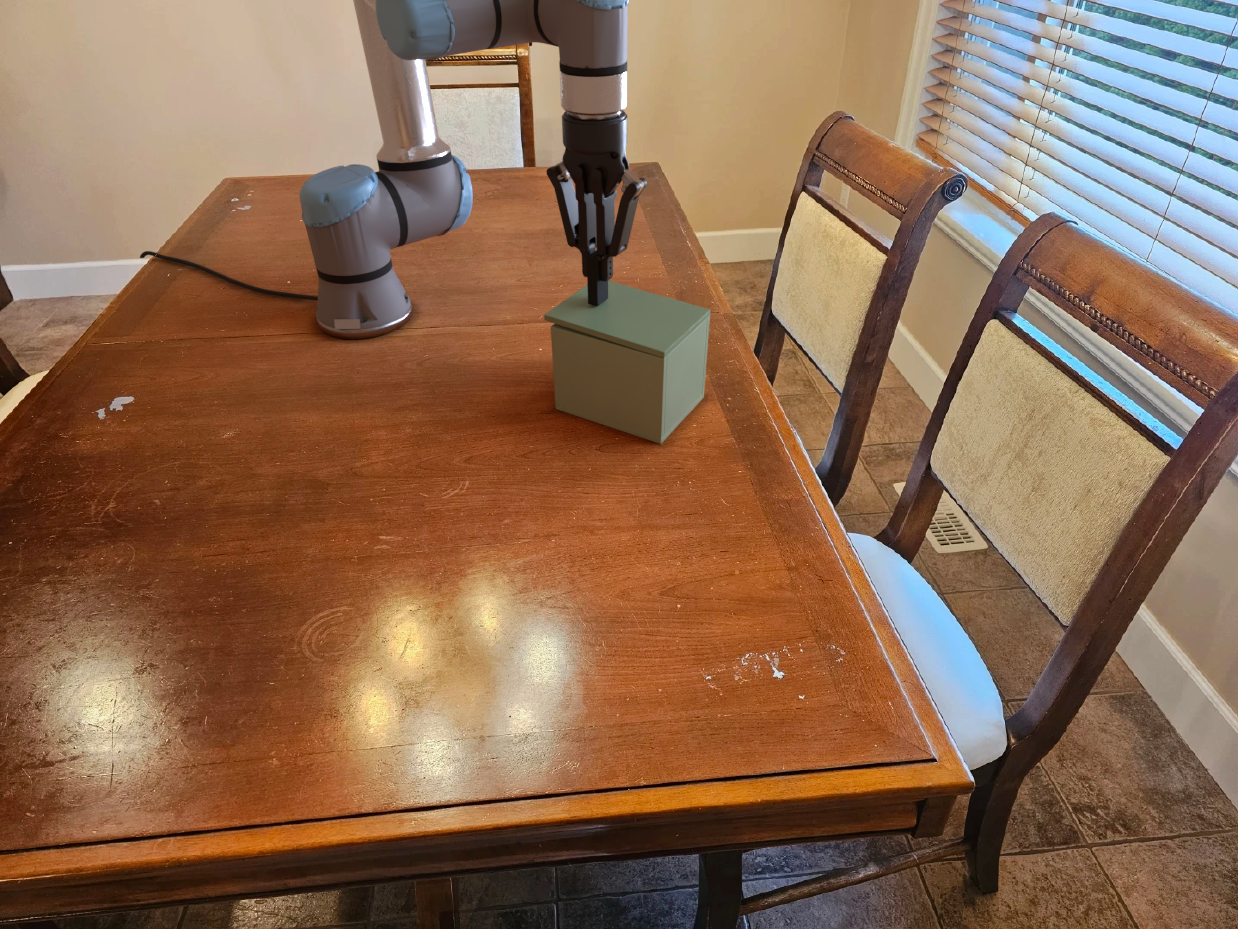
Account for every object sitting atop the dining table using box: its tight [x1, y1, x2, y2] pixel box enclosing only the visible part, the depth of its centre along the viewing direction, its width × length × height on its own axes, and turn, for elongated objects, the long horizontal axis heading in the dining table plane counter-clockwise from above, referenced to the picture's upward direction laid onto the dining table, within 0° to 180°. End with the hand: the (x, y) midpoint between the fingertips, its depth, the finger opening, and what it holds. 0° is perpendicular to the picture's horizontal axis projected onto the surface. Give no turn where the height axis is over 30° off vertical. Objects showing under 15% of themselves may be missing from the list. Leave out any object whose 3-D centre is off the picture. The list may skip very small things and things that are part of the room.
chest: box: [550, 315, 711, 445], centre depth 108 cm, size 17×13×13 cm
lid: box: [543, 280, 711, 358], centre depth 104 cm, size 18×13×1 cm
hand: (598, 300), depth 105 cm, fingers closed
